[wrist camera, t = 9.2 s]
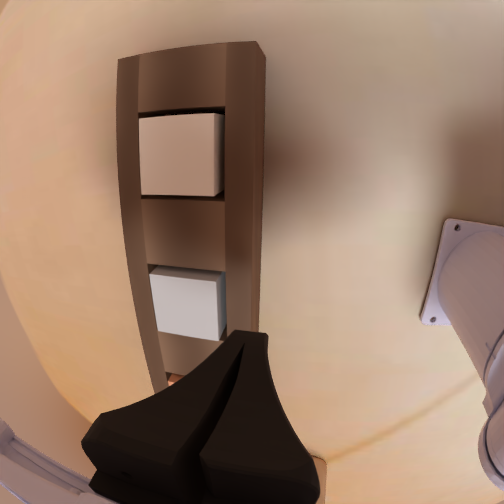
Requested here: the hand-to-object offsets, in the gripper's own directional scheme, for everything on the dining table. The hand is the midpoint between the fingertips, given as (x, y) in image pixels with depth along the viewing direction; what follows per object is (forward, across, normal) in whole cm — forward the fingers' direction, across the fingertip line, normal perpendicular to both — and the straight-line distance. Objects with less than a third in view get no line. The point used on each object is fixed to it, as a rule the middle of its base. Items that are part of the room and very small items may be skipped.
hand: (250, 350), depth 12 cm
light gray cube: (+9, +5, +2) cm, 10 cm away
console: (+9, +5, +2) cm, 11 cm away
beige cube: (+9, +5, -7) cm, 12 cm away
